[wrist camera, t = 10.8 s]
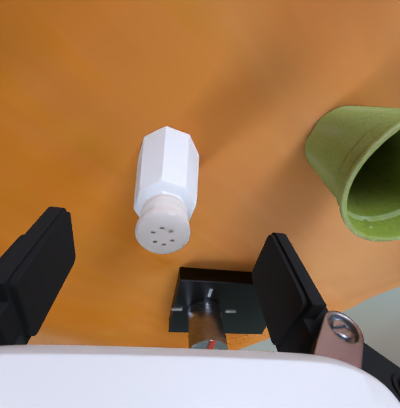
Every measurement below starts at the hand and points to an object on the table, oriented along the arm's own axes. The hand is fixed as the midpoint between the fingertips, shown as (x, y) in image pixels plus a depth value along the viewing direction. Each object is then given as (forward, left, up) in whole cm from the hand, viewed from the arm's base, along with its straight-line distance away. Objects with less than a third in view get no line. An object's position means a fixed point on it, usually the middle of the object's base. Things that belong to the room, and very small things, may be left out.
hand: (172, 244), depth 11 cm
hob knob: (+6, -20, -10) cm, 23 cm away
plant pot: (+15, +4, -12) cm, 19 cm away
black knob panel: (+10, -20, -12) cm, 25 cm away
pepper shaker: (0, 0, -12) cm, 12 cm away
